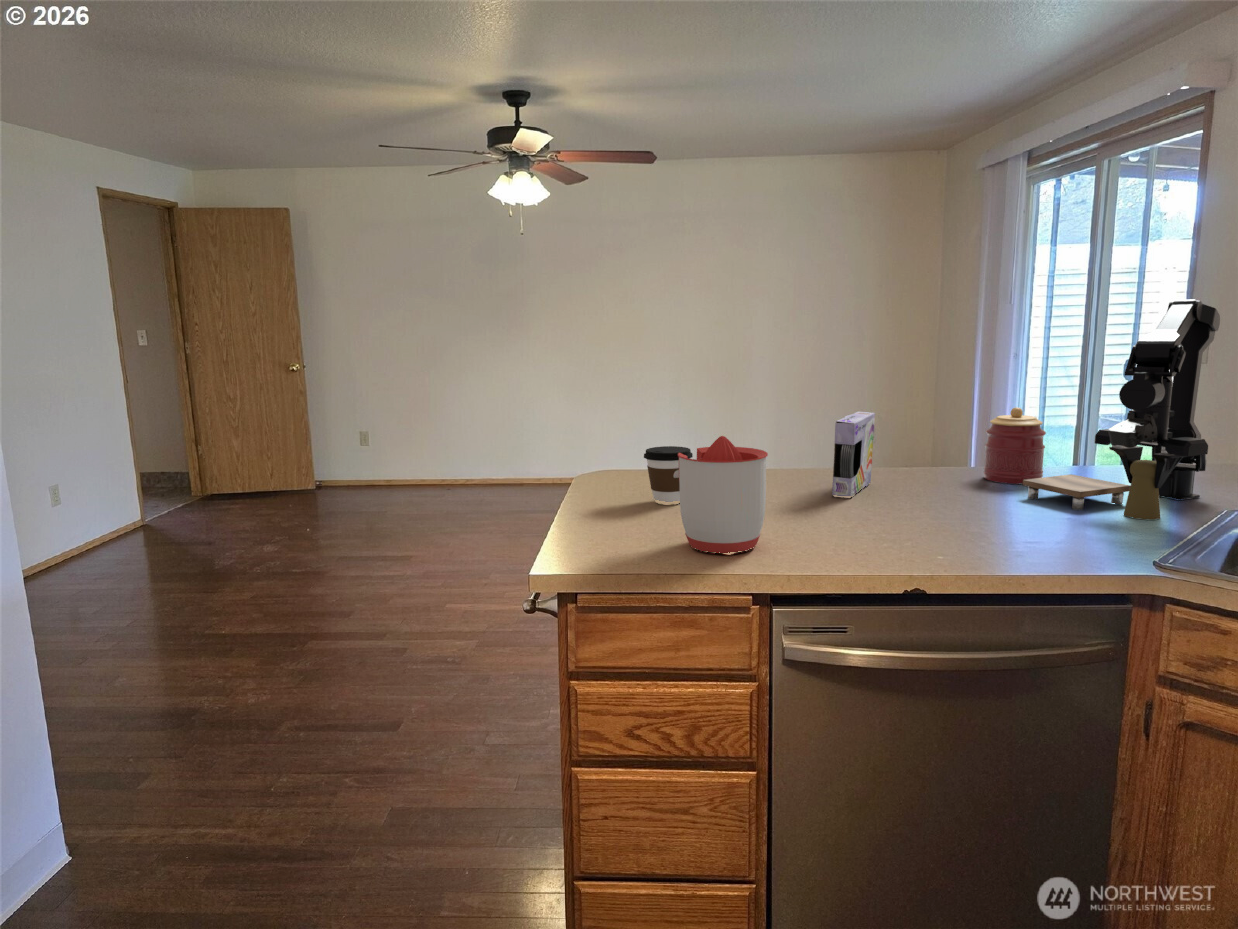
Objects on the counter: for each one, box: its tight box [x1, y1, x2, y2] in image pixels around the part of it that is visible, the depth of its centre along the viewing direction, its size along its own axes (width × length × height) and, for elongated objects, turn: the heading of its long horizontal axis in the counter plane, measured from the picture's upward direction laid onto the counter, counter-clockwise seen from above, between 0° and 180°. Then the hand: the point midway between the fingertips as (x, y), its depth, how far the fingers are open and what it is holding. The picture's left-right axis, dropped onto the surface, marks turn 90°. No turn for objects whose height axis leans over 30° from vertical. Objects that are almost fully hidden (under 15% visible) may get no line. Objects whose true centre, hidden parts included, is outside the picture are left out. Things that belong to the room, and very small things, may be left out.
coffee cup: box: [643, 445, 694, 502], centre depth 174 cm, size 11×11×12 cm
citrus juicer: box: [674, 435, 769, 553], centre depth 138 cm, size 16×17×20 cm
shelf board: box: [1022, 473, 1131, 498], centre depth 166 cm, size 14×14×1 cm
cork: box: [1123, 459, 1161, 521], centre depth 152 cm, size 6×6×11 cm
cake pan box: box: [831, 411, 876, 496], centre depth 180 cm, size 19×5×18 cm, turn 148°
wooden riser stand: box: [1027, 486, 1125, 511], centre depth 166 cm, size 13×13×3 cm
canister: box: [983, 406, 1047, 485], centre depth 189 cm, size 13×13×18 cm
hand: (1144, 485), depth 152 cm, fingers closed on cork, 5 cm apart
